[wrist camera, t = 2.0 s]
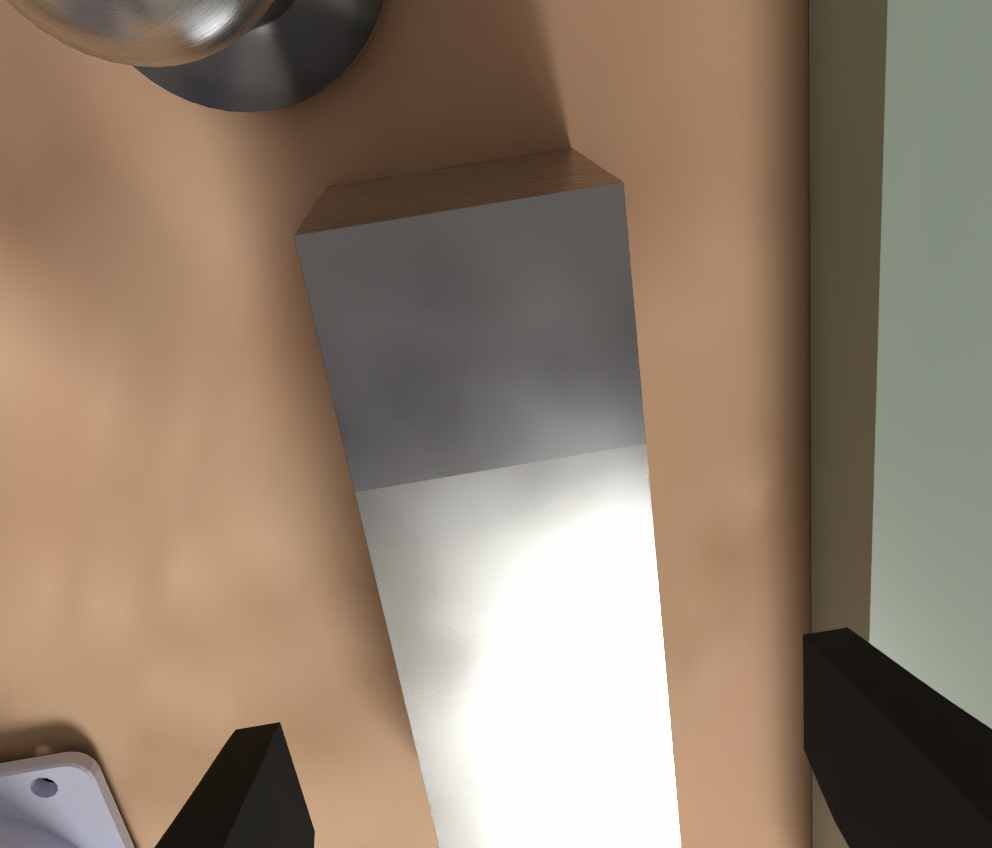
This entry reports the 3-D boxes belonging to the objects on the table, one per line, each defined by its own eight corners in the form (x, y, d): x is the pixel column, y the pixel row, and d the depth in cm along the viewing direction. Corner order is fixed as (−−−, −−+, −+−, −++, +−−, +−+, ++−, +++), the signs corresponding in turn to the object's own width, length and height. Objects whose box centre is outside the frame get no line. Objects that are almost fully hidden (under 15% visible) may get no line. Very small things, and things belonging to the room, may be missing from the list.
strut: (461, 803, 20) (471, 977, 16) (326, 187, 14) (293, 236, 11) (638, 772, 20) (688, 939, 16) (571, 148, 14) (623, 182, 11)
